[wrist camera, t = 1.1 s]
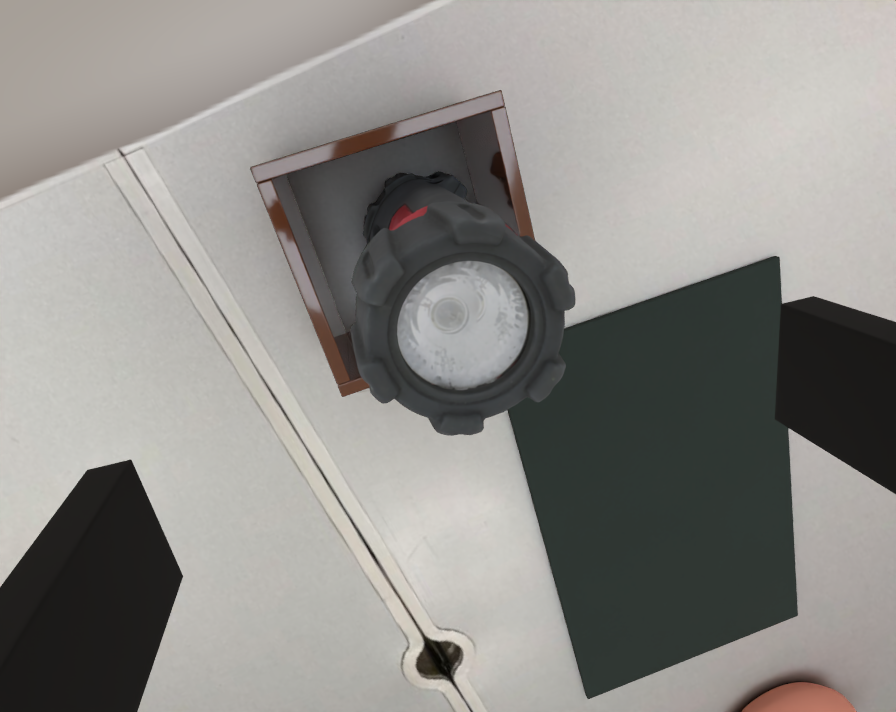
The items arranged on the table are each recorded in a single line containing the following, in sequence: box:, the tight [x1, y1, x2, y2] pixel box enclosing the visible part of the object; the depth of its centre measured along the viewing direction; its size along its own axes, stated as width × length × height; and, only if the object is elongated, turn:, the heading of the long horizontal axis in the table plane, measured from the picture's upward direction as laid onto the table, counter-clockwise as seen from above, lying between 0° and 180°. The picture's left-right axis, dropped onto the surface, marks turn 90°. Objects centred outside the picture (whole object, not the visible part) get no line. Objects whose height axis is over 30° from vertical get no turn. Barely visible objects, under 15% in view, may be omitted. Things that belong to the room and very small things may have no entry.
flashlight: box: [351, 171, 575, 435], centre depth 28 cm, size 8×8×23 cm
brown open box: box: [250, 90, 535, 397], centre depth 35 cm, size 13×13×9 cm
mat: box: [508, 256, 798, 699], centre depth 52 cm, size 24×40×1 cm, turn 16°
